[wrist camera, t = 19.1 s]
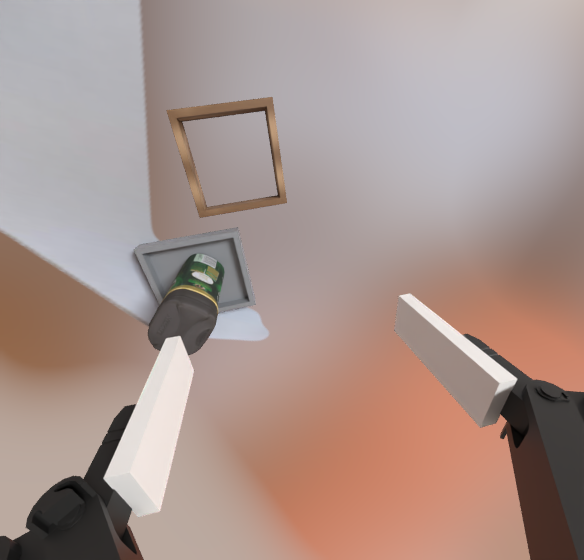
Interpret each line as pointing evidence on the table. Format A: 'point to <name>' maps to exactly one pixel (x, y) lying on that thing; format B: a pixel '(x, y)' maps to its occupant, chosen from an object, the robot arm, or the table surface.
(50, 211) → the table surface
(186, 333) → the coffee jar
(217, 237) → the slate tray
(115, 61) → the table surface
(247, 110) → the walnut frame
